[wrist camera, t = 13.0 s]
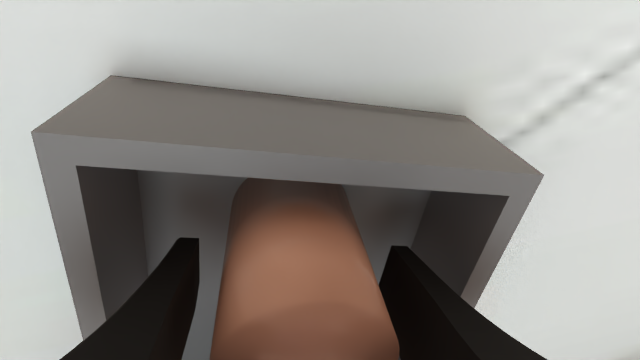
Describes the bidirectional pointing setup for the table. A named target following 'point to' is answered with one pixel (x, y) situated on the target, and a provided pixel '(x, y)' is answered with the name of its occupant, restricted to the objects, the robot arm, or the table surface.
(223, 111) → the tote
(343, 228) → the terracotta cylinder
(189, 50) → the table surface
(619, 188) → the table surface
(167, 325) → the robot arm
